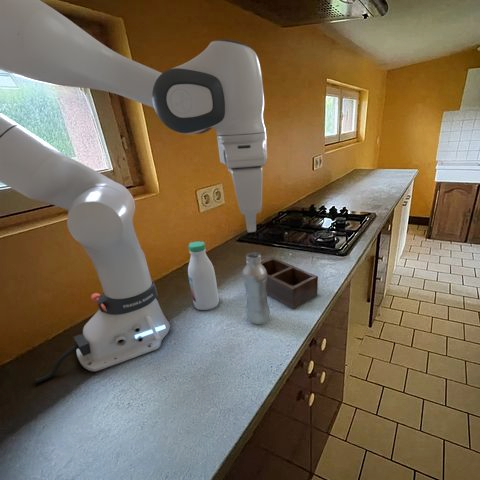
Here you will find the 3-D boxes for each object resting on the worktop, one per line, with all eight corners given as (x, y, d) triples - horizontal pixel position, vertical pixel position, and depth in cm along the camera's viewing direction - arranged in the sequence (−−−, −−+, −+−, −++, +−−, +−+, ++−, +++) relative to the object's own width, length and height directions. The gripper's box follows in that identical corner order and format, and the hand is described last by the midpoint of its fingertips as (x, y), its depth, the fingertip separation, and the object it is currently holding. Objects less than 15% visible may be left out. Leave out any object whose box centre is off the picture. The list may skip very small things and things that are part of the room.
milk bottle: (223, 298, 96) (215, 239, 86) (212, 312, 89) (202, 250, 80) (201, 296, 98) (191, 238, 88) (189, 309, 91) (176, 248, 82)
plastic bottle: (267, 328, 82) (263, 261, 72) (243, 325, 83) (236, 259, 74) (272, 314, 87) (269, 250, 78) (250, 312, 88) (244, 249, 79)
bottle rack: (293, 309, 89) (292, 289, 86) (250, 285, 103) (248, 267, 99) (317, 295, 95) (318, 276, 92) (273, 274, 109) (273, 257, 106)
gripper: (225, 147, 64) (233, 211, 71) (225, 158, 46) (235, 242, 53) (255, 145, 65) (260, 208, 71) (266, 155, 47) (271, 239, 53)
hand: (249, 223), depth 62 cm, fingers open, 8 cm apart
